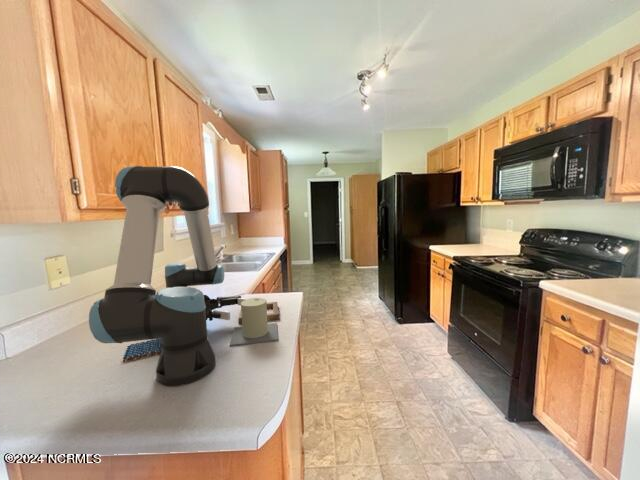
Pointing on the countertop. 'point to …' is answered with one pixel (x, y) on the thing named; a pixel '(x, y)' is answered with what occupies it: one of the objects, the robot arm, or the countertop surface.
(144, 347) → the woven mat
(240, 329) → the pad
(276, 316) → the cradle
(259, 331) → the can
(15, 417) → the countertop surface
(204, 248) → the robot arm
